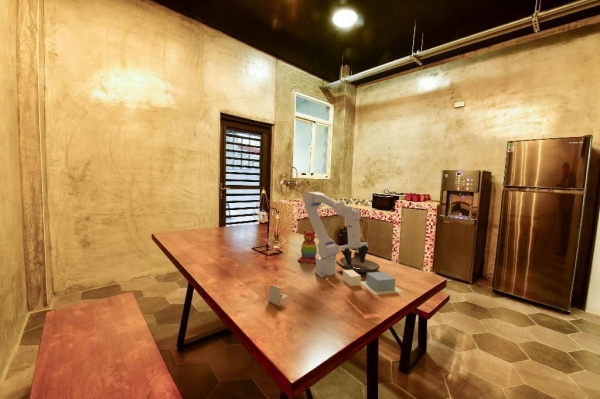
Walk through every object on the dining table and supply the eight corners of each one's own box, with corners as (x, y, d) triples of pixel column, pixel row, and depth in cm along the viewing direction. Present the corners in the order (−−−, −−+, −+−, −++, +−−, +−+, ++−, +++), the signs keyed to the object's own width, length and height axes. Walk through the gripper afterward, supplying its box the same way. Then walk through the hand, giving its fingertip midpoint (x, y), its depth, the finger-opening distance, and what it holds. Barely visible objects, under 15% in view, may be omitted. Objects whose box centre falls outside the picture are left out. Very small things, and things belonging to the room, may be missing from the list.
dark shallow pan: (328, 273, 135) (329, 258, 135) (349, 259, 160) (350, 246, 160) (370, 284, 123) (371, 268, 123) (386, 267, 149) (387, 253, 148)
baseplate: (375, 297, 109) (375, 294, 109) (358, 283, 123) (358, 281, 123) (403, 294, 114) (403, 291, 113) (383, 281, 127) (384, 279, 127)
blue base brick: (377, 291, 112) (377, 280, 112) (366, 283, 121) (366, 272, 121) (394, 289, 115) (395, 278, 115) (382, 281, 124) (383, 271, 123)
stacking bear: (296, 262, 150) (298, 231, 148) (301, 257, 160) (303, 228, 158) (315, 264, 147) (316, 233, 145) (319, 259, 157) (320, 230, 155)
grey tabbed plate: (274, 299, 105) (275, 281, 104) (287, 304, 100) (288, 286, 100) (268, 302, 102) (269, 284, 101) (281, 308, 98) (282, 289, 97)
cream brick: (350, 288, 117) (351, 276, 117) (342, 281, 125) (342, 270, 124) (360, 287, 119) (360, 275, 118) (351, 280, 126) (352, 269, 126)
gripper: (346, 237, 115) (348, 268, 115) (371, 233, 121) (373, 262, 121) (337, 236, 121) (339, 265, 121) (362, 232, 127) (364, 260, 127)
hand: (355, 263), depth 121 cm, fingers open, 7 cm apart
